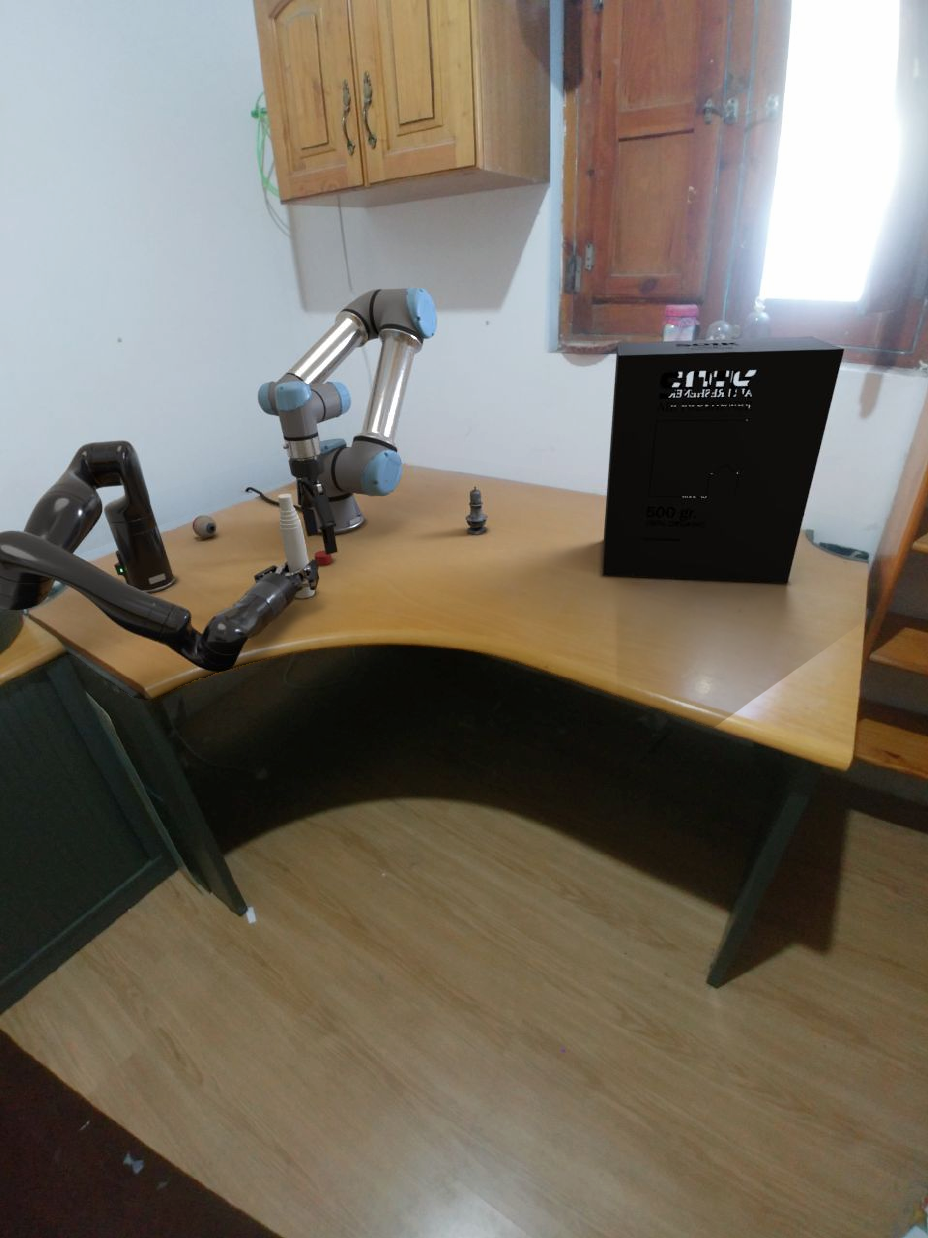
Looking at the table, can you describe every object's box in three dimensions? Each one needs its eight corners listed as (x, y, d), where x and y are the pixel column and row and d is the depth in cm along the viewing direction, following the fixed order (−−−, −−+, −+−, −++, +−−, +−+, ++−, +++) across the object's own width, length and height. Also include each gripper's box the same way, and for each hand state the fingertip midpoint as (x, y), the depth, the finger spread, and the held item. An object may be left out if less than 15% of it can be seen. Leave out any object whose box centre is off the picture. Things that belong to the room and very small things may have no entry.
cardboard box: (766, 545, 143) (811, 336, 120) (787, 583, 126) (844, 348, 103) (603, 539, 150) (617, 342, 128) (602, 575, 133) (618, 355, 111)
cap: (320, 558, 150) (319, 549, 149) (334, 559, 149) (333, 550, 148) (313, 565, 147) (311, 556, 145) (327, 566, 146) (326, 557, 144)
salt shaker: (485, 534, 157) (484, 490, 151) (463, 534, 158) (461, 489, 152) (489, 526, 162) (488, 482, 156) (468, 525, 163) (466, 482, 157)
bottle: (306, 599, 131) (285, 500, 120) (290, 596, 133) (268, 497, 121) (318, 591, 134) (299, 493, 123) (303, 588, 136) (283, 491, 125)
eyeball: (206, 542, 163) (200, 521, 160) (191, 538, 166) (185, 518, 163) (224, 534, 167) (218, 514, 164) (209, 531, 170) (203, 510, 167)
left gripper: (239, 613, 122) (279, 576, 136) (304, 618, 119) (338, 579, 133) (230, 580, 118) (272, 545, 132) (297, 584, 115) (332, 548, 129)
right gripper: (273, 448, 143) (291, 531, 153) (306, 472, 124) (324, 565, 135) (303, 442, 146) (319, 524, 157) (340, 465, 127) (355, 556, 138)
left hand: (304, 562), depth 133 cm, fingers closed on bottle, 4 cm apart
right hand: (322, 543), depth 146 cm, fingers open, 13 cm apart
